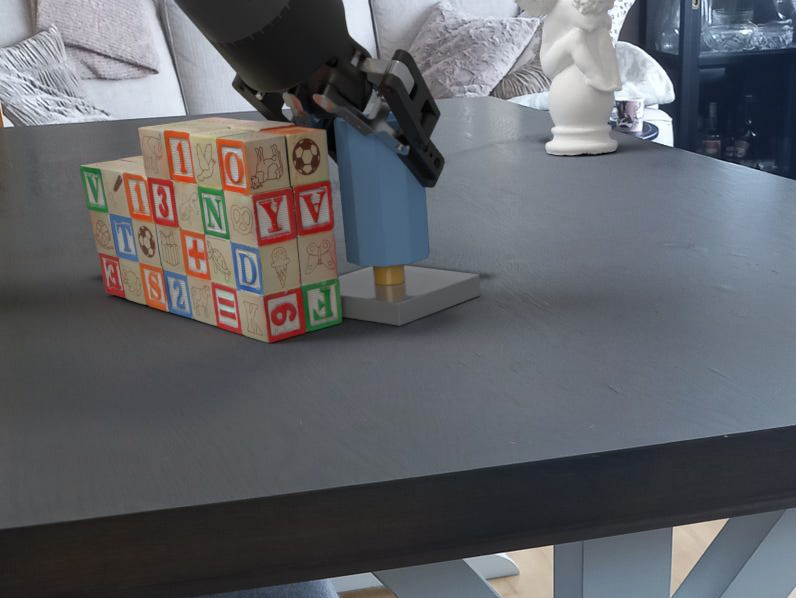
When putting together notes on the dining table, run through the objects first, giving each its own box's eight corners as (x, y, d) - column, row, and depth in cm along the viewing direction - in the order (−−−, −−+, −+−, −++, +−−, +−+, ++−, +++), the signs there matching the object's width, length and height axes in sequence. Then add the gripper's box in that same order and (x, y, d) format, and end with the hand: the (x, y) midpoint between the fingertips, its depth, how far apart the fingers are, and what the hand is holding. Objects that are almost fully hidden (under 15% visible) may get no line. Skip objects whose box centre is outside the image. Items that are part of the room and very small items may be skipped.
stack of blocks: (102, 295, 91) (68, 119, 85) (175, 279, 94) (147, 109, 88) (269, 344, 77) (243, 137, 71) (346, 322, 81) (327, 124, 75)
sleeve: (329, 262, 83) (315, 121, 78) (385, 245, 87) (374, 110, 82) (392, 270, 80) (380, 123, 75) (446, 252, 84) (438, 112, 79)
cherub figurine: (631, 154, 142) (634, -61, 131) (529, 163, 139) (524, -56, 129) (597, 142, 152) (597, -59, 141) (502, 150, 150) (495, -53, 139)
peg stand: (300, 310, 84) (285, 180, 80) (383, 282, 90) (374, 160, 86) (399, 326, 79) (389, 189, 75) (480, 295, 86) (475, 167, 81)
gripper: (370, -80, 65) (506, 130, 79) (189, -65, 72) (342, 124, 86) (313, 37, 64) (462, 230, 78) (135, 40, 71) (300, 214, 85)
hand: (398, 173), depth 82 cm, fingers closed on sleeve, 5 cm apart
